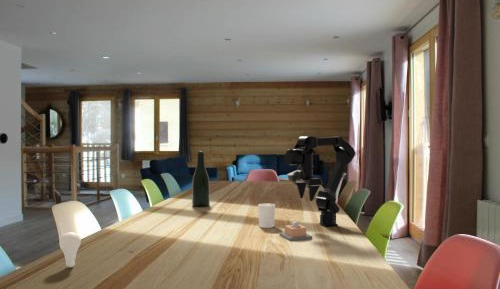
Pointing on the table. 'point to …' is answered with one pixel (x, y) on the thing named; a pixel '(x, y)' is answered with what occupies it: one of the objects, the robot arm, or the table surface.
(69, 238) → the lightbulb
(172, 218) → the table surface
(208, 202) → the dark green wine bottle
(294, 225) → the post plate
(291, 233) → the ring
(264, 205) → the white cup
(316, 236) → the table surface
